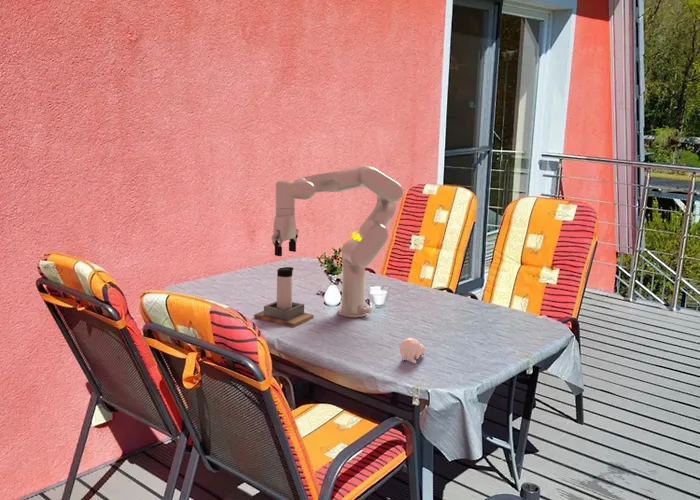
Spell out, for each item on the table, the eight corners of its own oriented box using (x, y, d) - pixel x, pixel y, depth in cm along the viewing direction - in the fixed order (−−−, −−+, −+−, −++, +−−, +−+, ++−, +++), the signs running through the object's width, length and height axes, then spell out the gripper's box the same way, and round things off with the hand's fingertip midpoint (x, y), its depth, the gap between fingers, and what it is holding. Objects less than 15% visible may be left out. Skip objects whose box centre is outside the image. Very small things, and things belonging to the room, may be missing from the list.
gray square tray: (304, 313, 280) (304, 304, 279) (287, 321, 270) (287, 311, 269) (280, 308, 286) (280, 299, 285) (263, 315, 276) (263, 306, 275)
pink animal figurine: (398, 337, 233) (416, 332, 243) (396, 361, 235) (414, 355, 244) (414, 341, 230) (431, 336, 239) (412, 366, 231) (429, 359, 241)
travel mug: (290, 317, 274) (291, 269, 270) (274, 315, 276) (275, 268, 271) (294, 313, 280) (295, 266, 276) (279, 311, 282) (279, 265, 277)
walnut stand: (313, 318, 279) (313, 314, 279) (294, 327, 267) (294, 323, 267) (274, 309, 289) (274, 306, 289) (254, 318, 277) (254, 314, 277)
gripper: (290, 208, 278) (290, 248, 282) (264, 213, 263) (265, 256, 267) (305, 209, 274) (305, 250, 278) (280, 215, 260) (280, 258, 263)
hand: (285, 253), depth 272 cm, fingers open, 9 cm apart
